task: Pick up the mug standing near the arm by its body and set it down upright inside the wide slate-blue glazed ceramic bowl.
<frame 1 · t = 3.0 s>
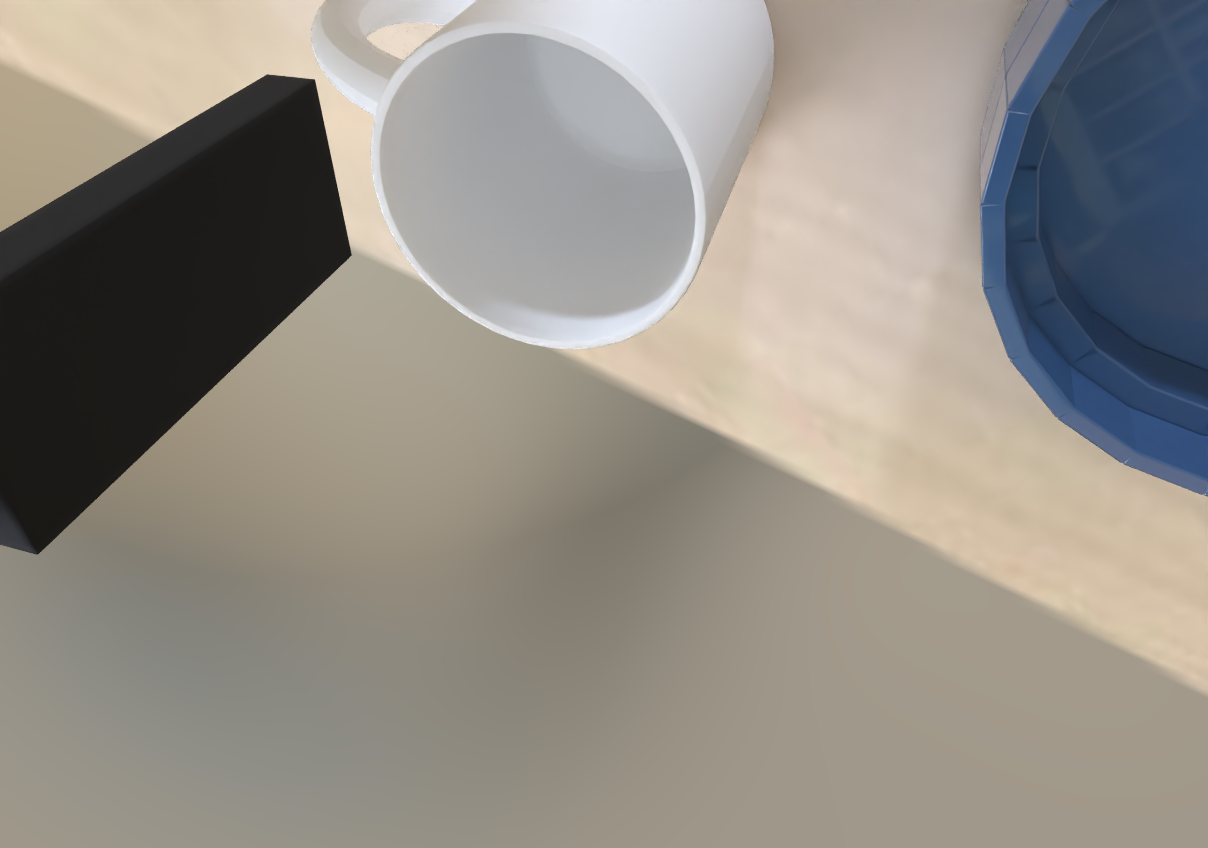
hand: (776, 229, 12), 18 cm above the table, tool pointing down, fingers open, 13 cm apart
mug: (594, 23, 29), on the table
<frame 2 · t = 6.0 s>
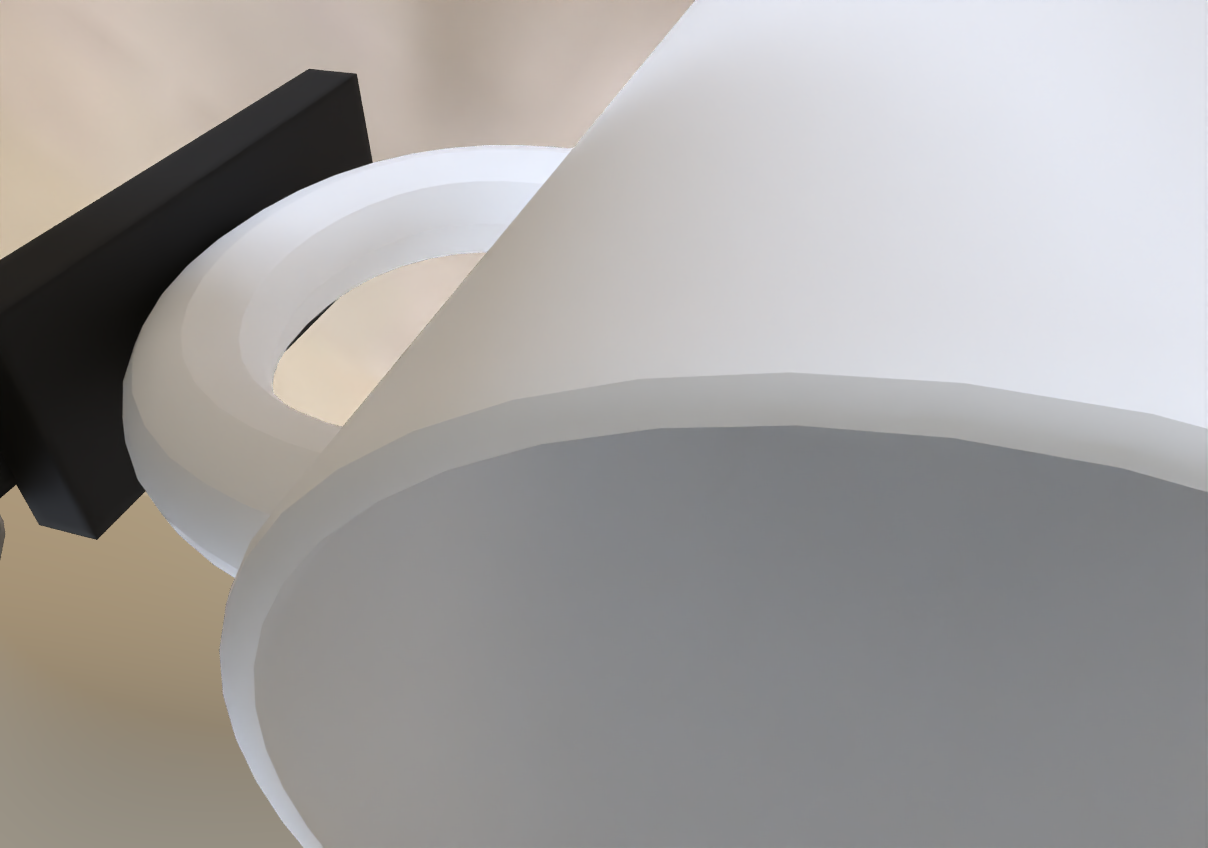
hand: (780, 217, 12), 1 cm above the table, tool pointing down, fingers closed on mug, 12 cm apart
mug: (799, 163, 13), on the table, touching gripper
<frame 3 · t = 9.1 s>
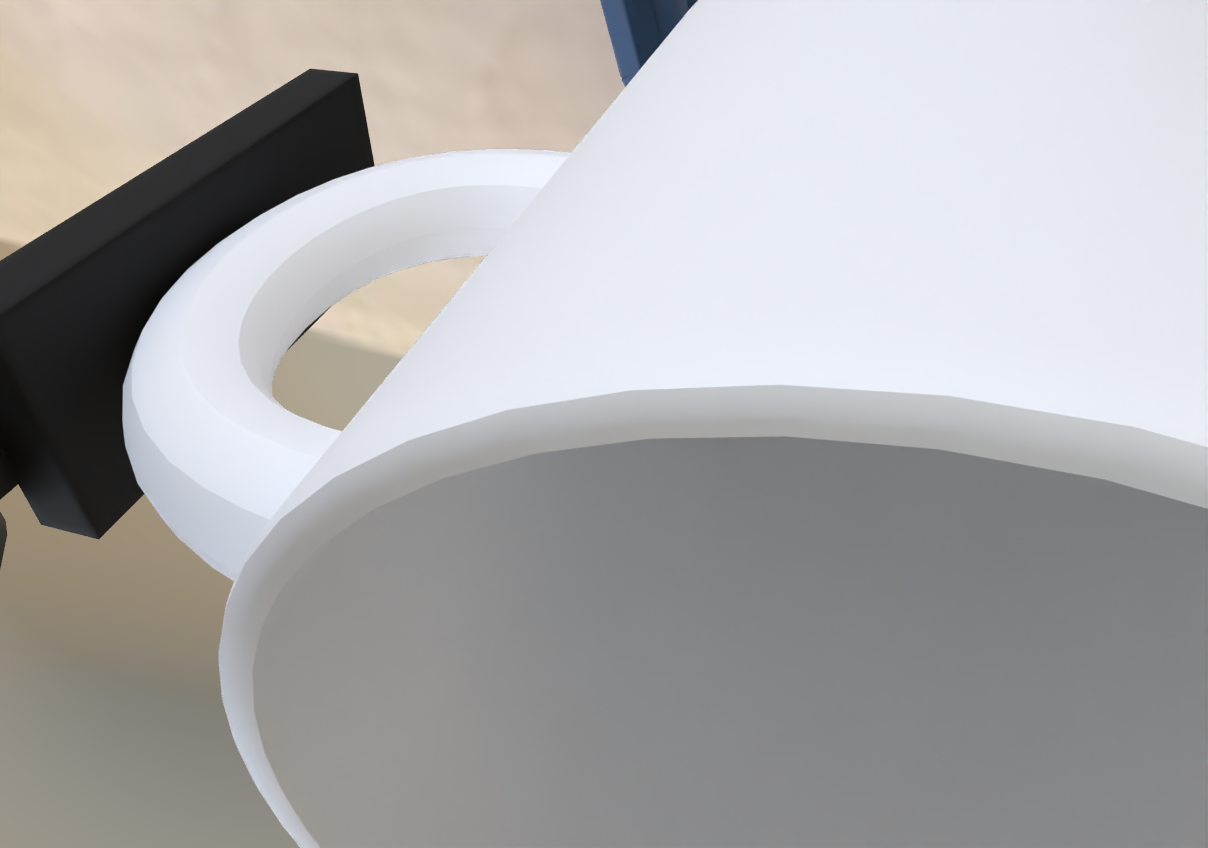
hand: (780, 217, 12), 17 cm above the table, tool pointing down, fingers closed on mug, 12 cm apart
mug: (797, 166, 14), point 15 cm above the table, touching gripper
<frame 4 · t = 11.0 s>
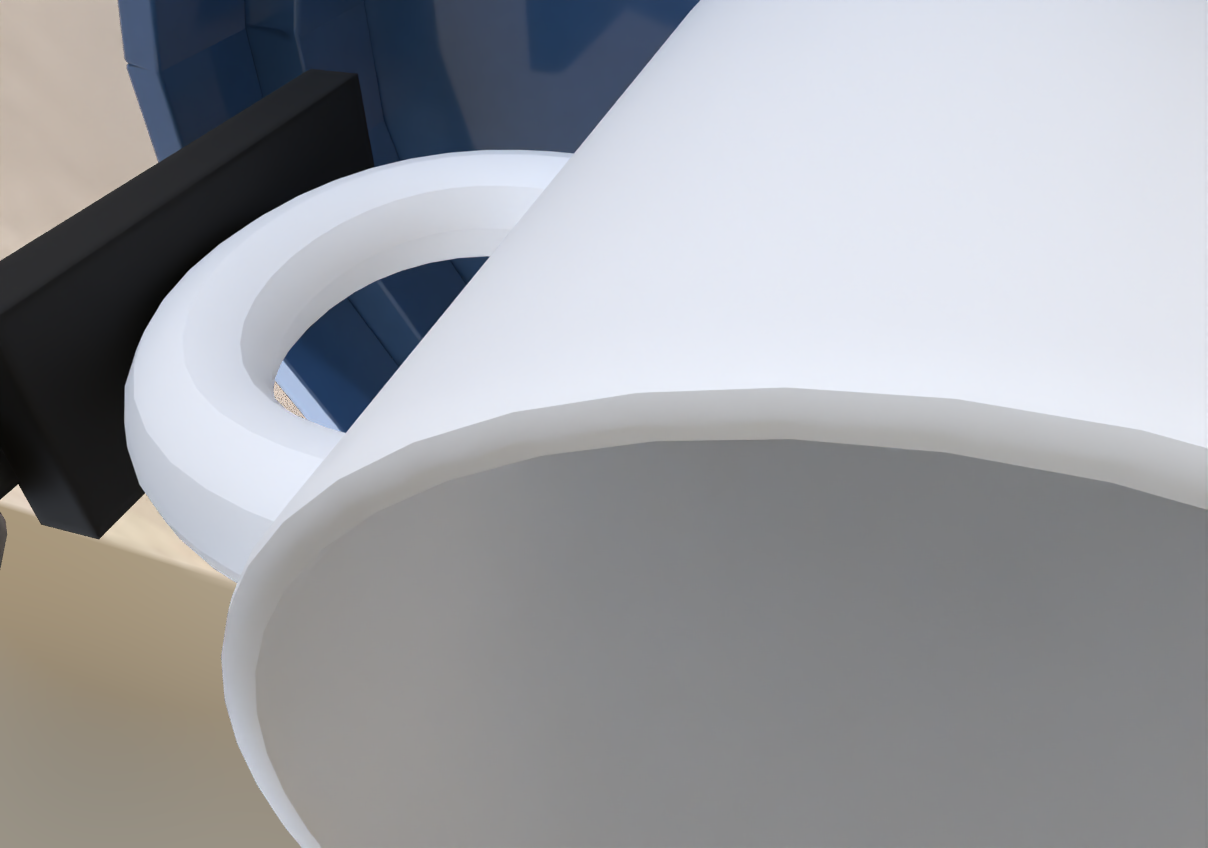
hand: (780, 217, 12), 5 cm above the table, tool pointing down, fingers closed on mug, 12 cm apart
mug: (798, 167, 14), point 3 cm above the table, touching gripper
bowl: (823, 92, 16), on the table
when the fingers open (2 cm above the table, at t = 12.5 s): mug stays where it is, resting on bowl.
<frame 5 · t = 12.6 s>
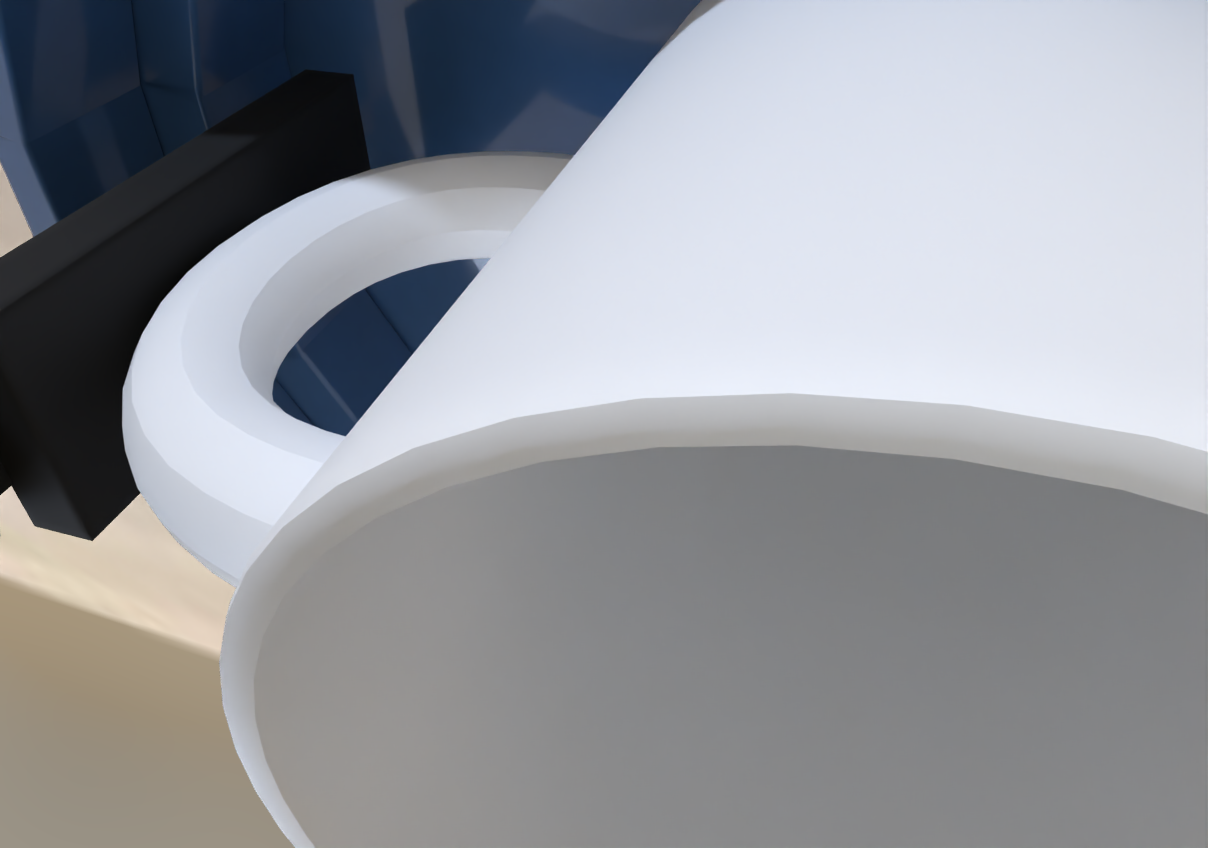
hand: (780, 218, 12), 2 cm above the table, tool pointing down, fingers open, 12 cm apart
mug: (799, 168, 13), resting on bowl
bowl: (803, 156, 14), on the table
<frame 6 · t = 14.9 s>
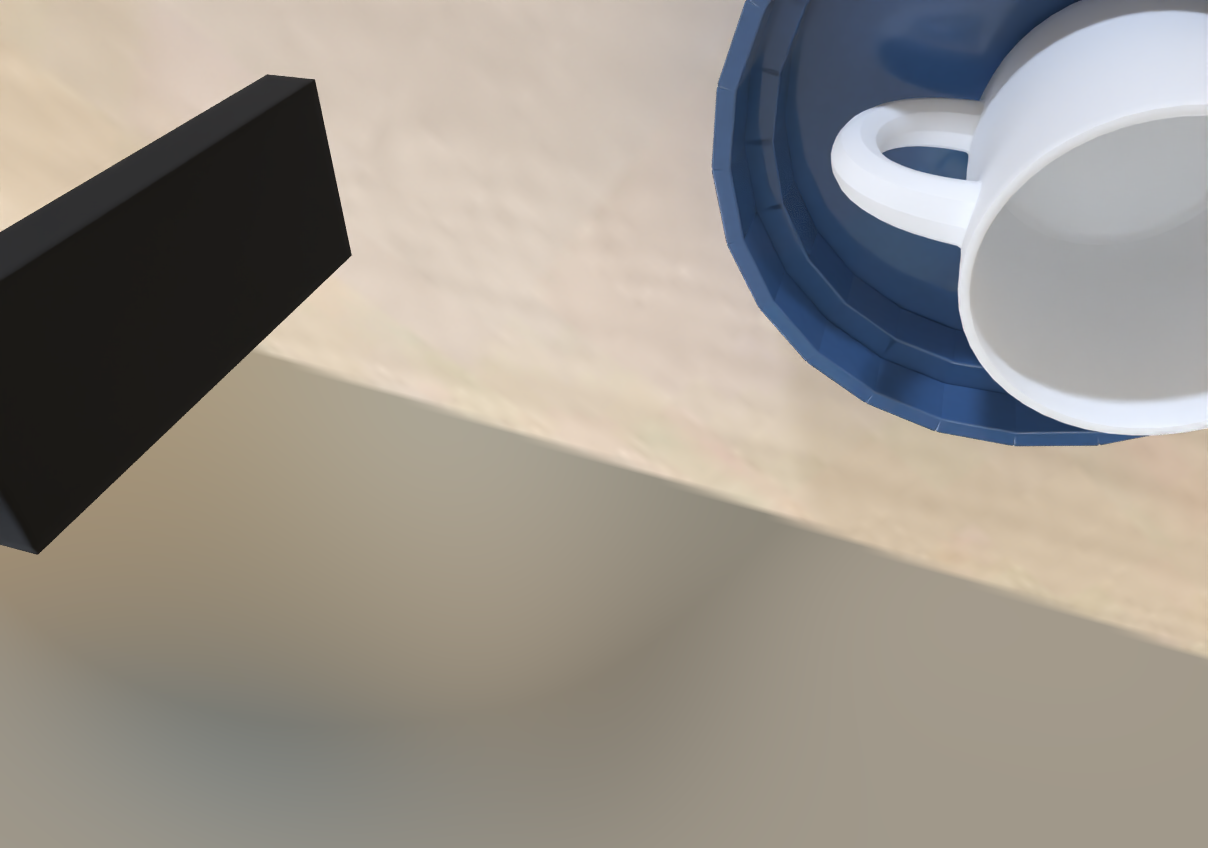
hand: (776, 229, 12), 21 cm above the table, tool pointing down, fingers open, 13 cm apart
mug: (1051, 110, 29), resting on bowl
bowl: (1050, 105, 29), on the table
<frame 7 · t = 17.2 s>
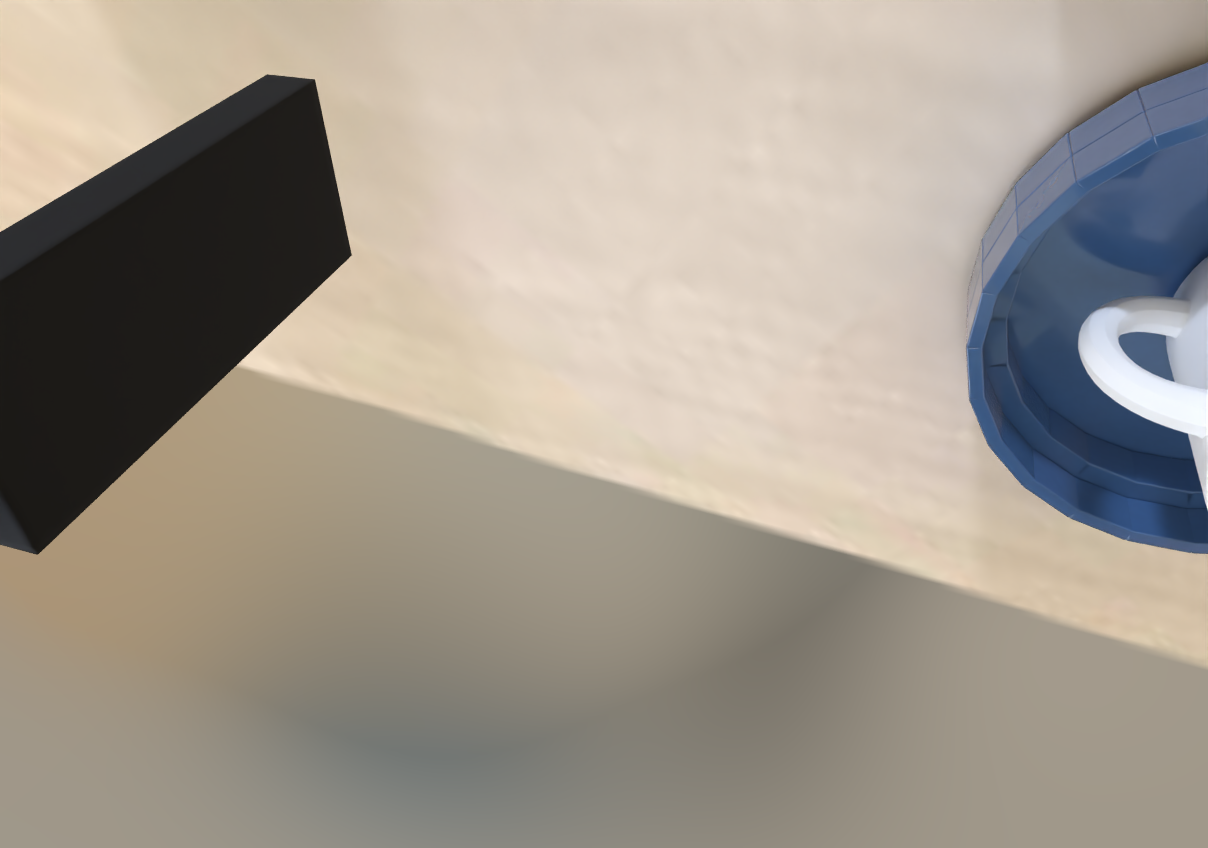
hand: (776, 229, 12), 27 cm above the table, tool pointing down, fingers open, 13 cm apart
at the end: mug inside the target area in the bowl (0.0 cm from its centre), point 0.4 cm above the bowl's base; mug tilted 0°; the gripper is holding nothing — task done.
